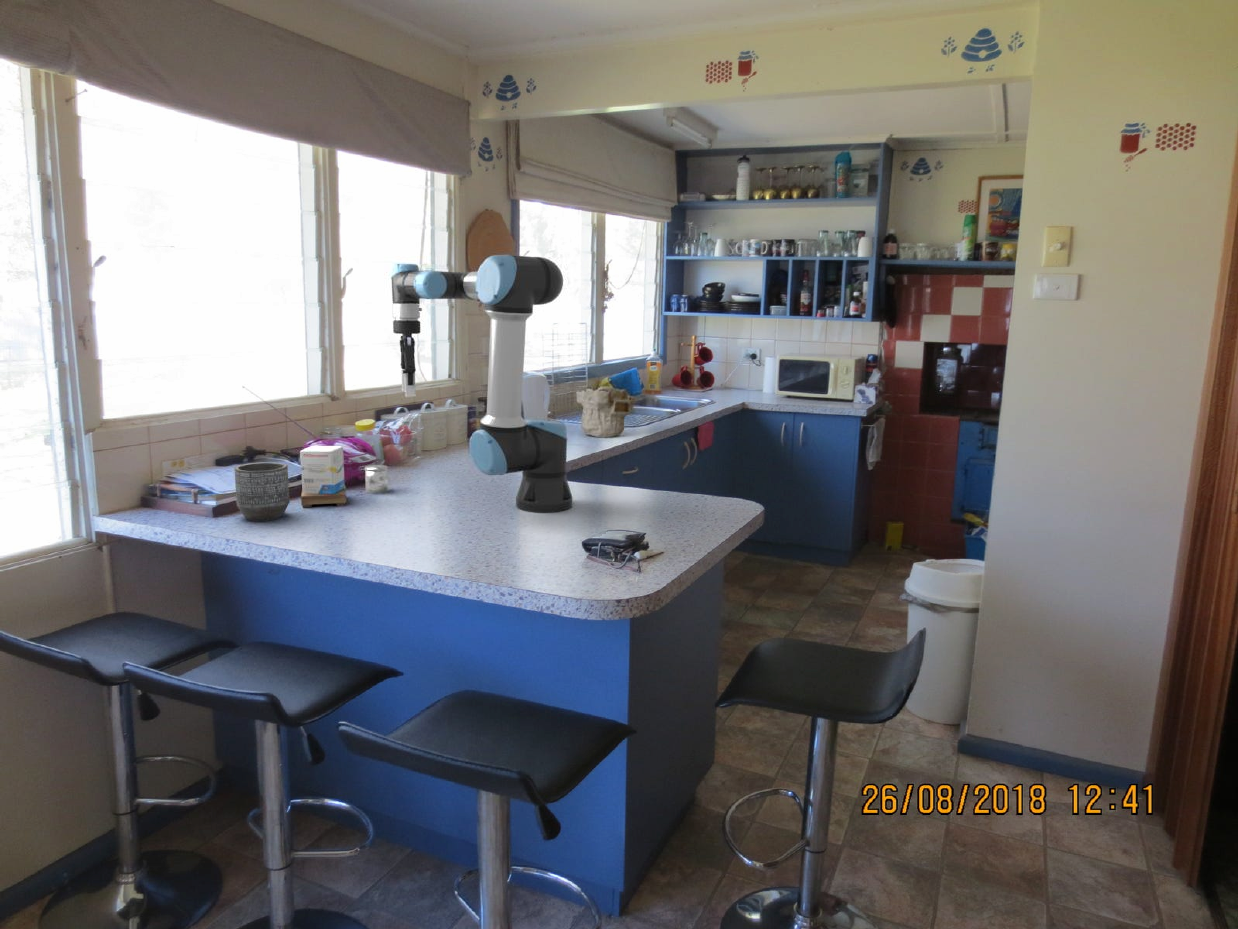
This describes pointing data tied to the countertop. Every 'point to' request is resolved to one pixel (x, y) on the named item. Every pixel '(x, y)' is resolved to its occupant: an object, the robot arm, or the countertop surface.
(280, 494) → the planter
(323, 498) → the riser
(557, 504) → the robot arm
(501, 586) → the countertop surface
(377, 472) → the tin
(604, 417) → the ceramic vessel
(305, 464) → the ink box
